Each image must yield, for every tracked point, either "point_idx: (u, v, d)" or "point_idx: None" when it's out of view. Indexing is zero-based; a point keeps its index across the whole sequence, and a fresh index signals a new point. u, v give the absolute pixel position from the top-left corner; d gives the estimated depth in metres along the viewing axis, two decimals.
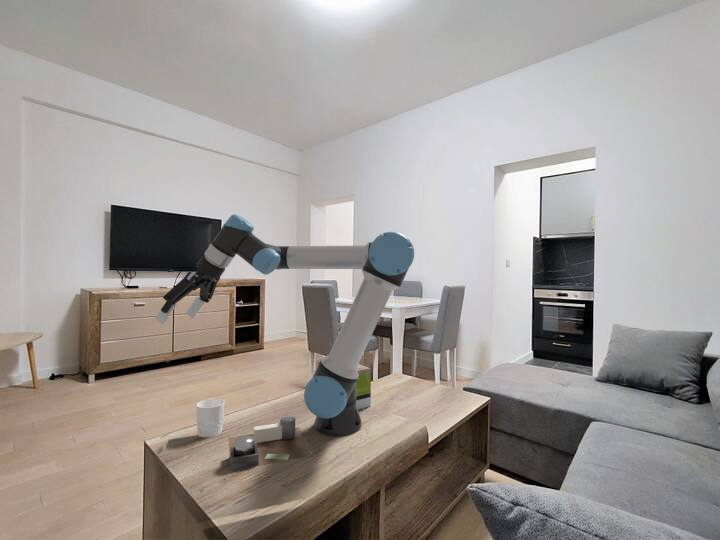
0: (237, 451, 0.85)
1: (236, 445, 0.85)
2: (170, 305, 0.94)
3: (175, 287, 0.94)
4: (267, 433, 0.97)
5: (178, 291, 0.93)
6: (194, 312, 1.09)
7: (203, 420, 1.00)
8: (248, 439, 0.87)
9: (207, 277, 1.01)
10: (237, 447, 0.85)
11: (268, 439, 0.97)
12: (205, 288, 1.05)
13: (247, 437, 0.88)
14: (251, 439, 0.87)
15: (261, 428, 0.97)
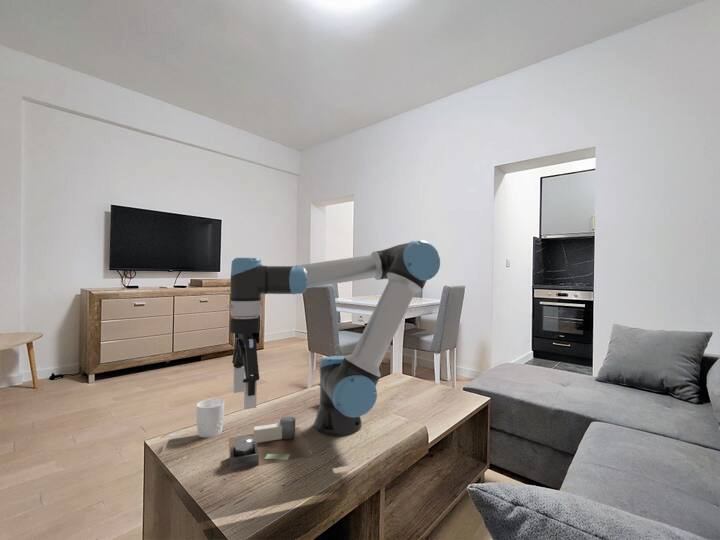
0: (237, 451, 0.85)
1: (236, 445, 0.85)
2: (254, 383, 0.81)
3: (249, 362, 0.80)
4: (267, 433, 0.97)
5: (255, 363, 0.81)
6: (242, 384, 0.94)
7: (203, 420, 1.00)
8: (248, 439, 0.87)
9: None
10: (237, 447, 0.85)
11: (268, 439, 0.97)
12: None
13: (247, 437, 0.88)
14: (251, 439, 0.87)
15: (261, 428, 0.97)
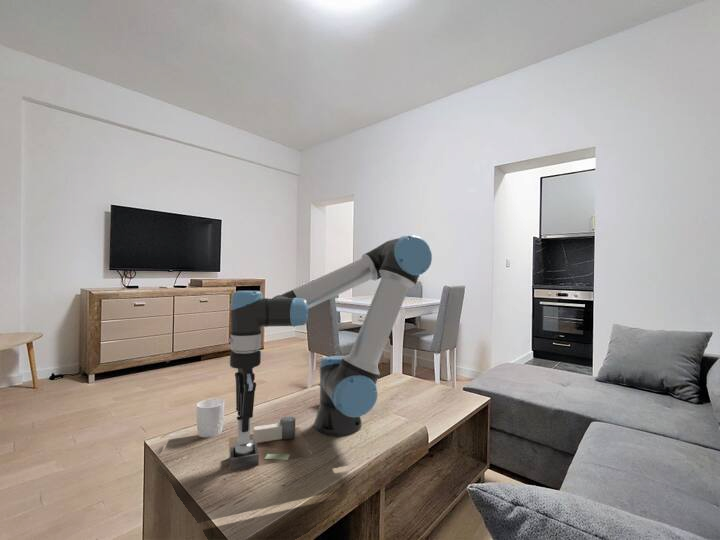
0: (237, 455, 0.85)
1: (236, 449, 0.85)
2: None
3: (245, 405, 0.83)
4: (267, 433, 0.97)
5: (251, 405, 0.84)
6: None
7: (203, 420, 1.00)
8: (248, 443, 0.87)
9: None
10: (237, 451, 0.85)
11: (268, 439, 0.97)
12: None
13: None
14: (251, 443, 0.87)
15: (261, 428, 0.97)
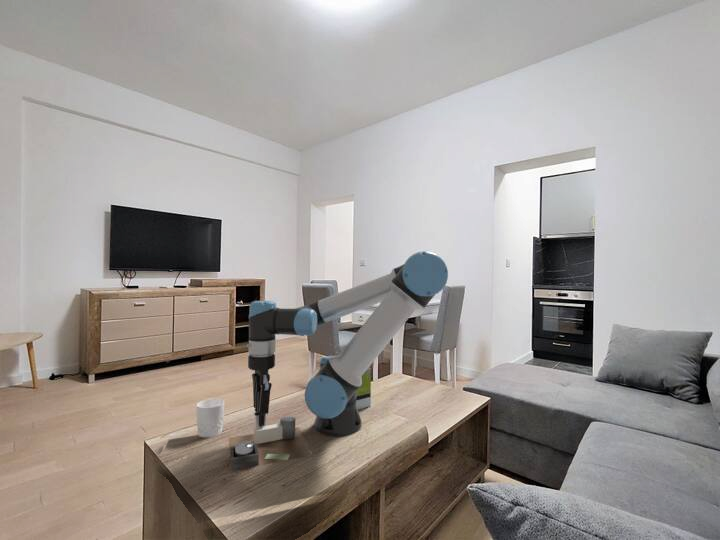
0: (237, 456, 0.85)
1: (236, 450, 0.85)
2: None
3: (262, 402, 0.94)
4: (268, 434, 0.96)
5: (267, 402, 0.95)
6: None
7: (203, 420, 1.00)
8: (248, 444, 0.87)
9: None
10: (237, 453, 0.85)
11: (269, 440, 0.96)
12: None
13: (247, 442, 0.88)
14: (251, 444, 0.87)
15: (262, 429, 0.96)
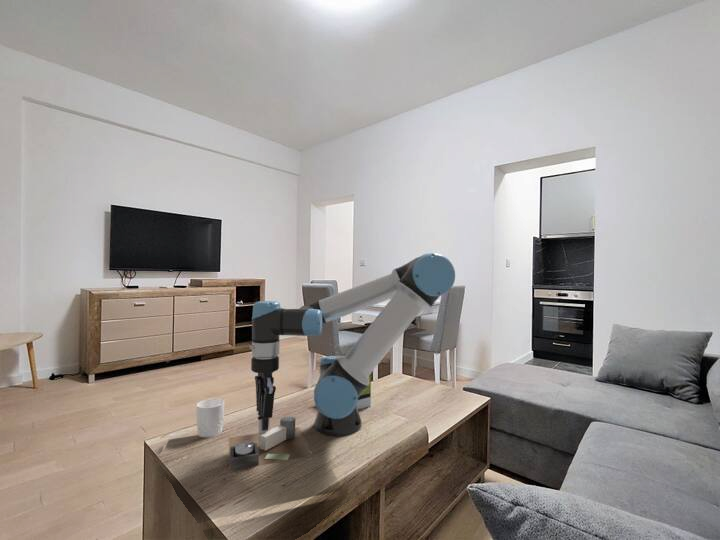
0: (237, 456, 0.85)
1: (236, 450, 0.85)
2: None
3: (265, 406, 0.91)
4: (275, 437, 0.94)
5: (271, 406, 0.92)
6: None
7: (203, 420, 1.00)
8: (248, 444, 0.87)
9: None
10: (237, 453, 0.85)
11: (276, 443, 0.94)
12: None
13: (247, 442, 0.88)
14: (251, 444, 0.87)
15: (269, 433, 0.93)
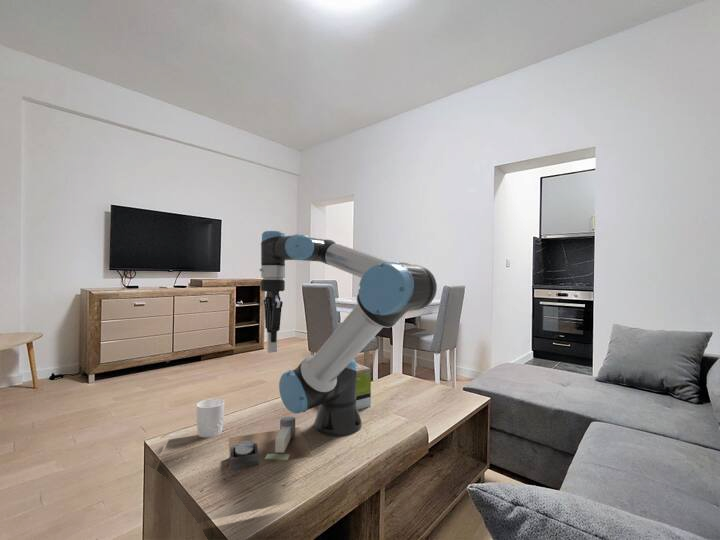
0: (237, 456, 0.85)
1: (236, 450, 0.85)
2: None
3: (274, 319, 1.05)
4: (287, 438, 0.94)
5: (278, 319, 1.06)
6: None
7: (203, 420, 1.00)
8: (248, 444, 0.87)
9: None
10: (237, 453, 0.85)
11: (287, 443, 0.94)
12: None
13: (247, 442, 0.88)
14: (251, 444, 0.87)
15: (284, 435, 0.92)
